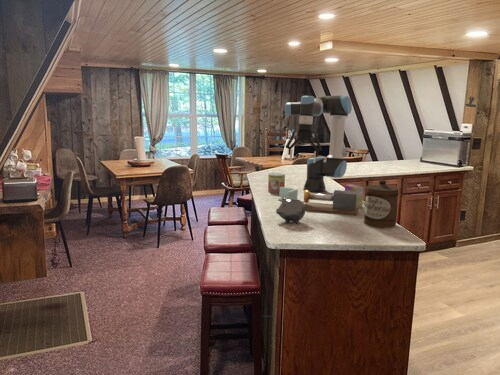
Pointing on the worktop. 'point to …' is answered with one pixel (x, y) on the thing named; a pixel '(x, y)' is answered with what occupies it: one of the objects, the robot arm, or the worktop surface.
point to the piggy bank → (291, 210)
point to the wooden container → (381, 205)
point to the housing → (344, 200)
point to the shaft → (316, 196)
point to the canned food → (275, 182)
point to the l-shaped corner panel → (288, 193)
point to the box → (359, 193)
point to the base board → (328, 208)
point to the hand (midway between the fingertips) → (302, 161)
